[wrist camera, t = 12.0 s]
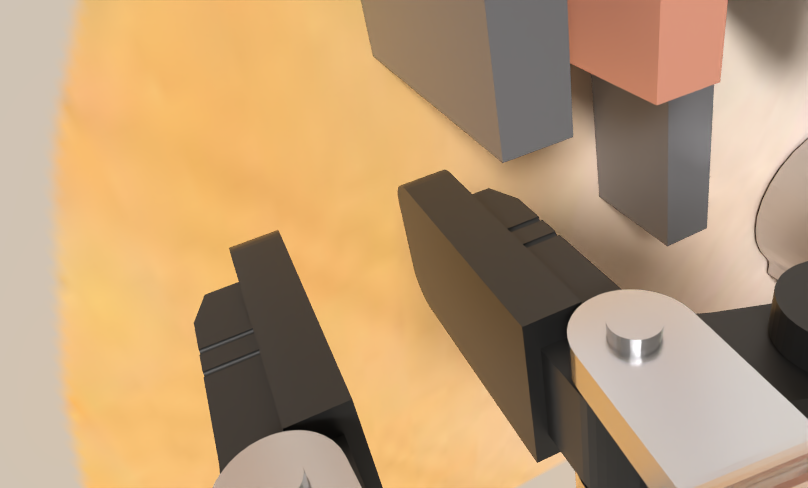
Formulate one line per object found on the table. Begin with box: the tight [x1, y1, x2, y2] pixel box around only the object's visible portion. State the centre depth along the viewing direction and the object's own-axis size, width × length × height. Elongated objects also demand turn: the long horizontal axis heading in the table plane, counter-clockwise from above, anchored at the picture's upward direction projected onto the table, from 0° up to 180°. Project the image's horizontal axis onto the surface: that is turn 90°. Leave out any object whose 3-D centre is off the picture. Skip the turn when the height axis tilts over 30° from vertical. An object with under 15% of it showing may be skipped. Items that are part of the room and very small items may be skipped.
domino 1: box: [361, 0, 573, 163], centre depth 19 cm, size 5×2×10 cm, turn 11°
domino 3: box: [591, 74, 714, 246], centre depth 27 cm, size 5×2×10 cm
